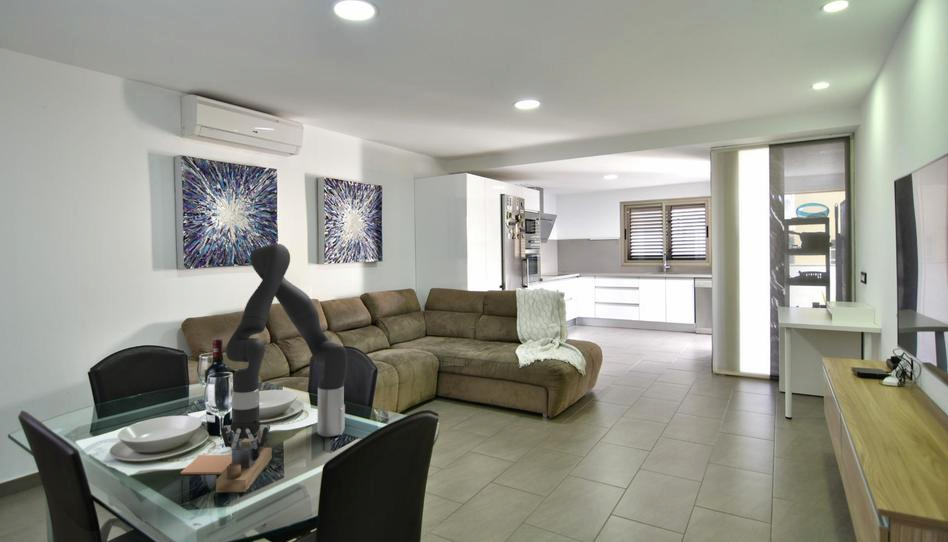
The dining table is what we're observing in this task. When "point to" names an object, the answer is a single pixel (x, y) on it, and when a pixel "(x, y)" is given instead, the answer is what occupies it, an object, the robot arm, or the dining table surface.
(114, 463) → the dining table surface
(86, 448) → the dining table surface
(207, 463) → the mat
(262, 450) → the plane body
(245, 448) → the grey block
